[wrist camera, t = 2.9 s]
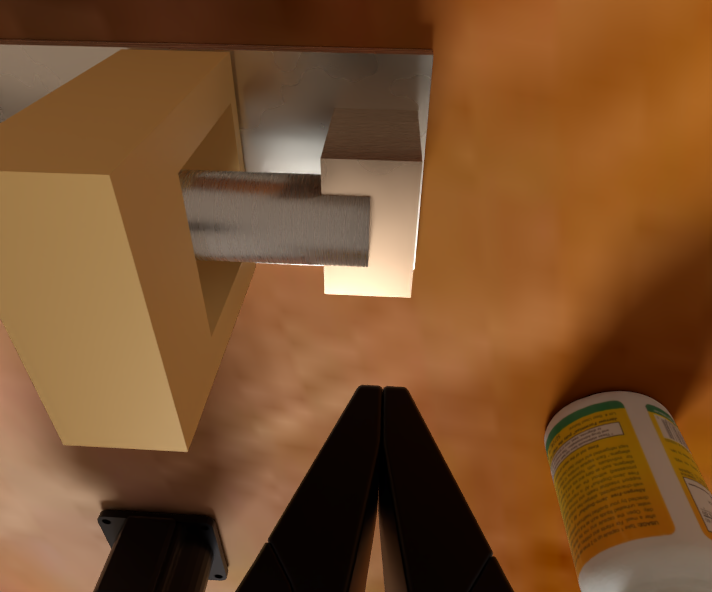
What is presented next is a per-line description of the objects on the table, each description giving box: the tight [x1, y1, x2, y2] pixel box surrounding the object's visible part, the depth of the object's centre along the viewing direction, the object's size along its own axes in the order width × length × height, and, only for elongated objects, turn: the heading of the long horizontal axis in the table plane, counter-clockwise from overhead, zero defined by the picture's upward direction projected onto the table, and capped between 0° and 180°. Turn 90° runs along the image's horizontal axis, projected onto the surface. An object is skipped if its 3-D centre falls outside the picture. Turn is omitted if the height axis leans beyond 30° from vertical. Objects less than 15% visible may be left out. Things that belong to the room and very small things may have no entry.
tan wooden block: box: [0, 49, 256, 452], centre depth 14 cm, size 3×7×8 cm, turn 179°
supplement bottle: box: [544, 391, 712, 592], centre depth 20 cm, size 5×5×10 cm
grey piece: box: [0, 39, 433, 298], centre depth 16 cm, size 24×7×5 cm, turn 90°
